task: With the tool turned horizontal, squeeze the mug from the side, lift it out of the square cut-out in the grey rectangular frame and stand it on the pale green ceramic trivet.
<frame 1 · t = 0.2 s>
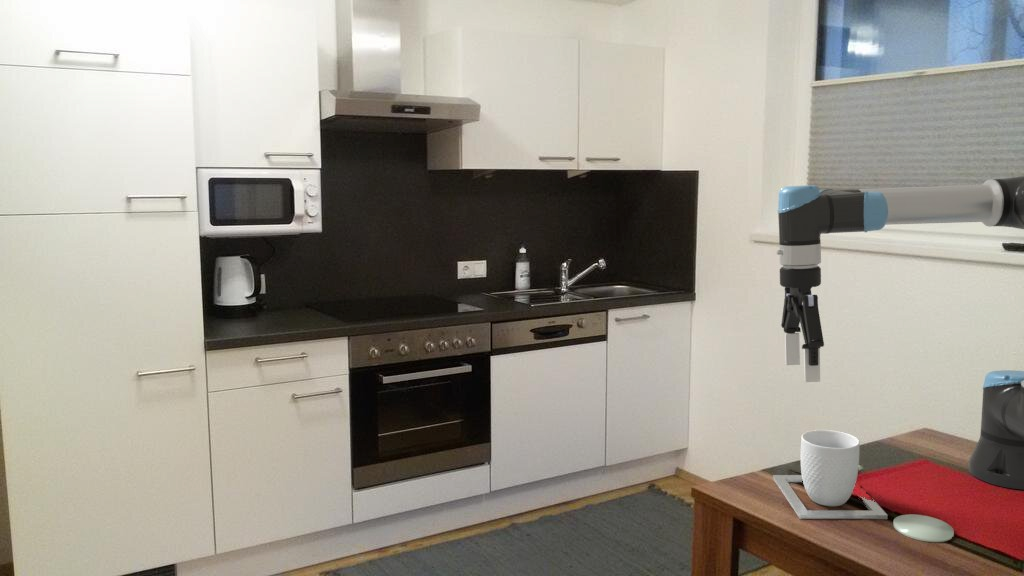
hand: (802, 372, 155), 27 cm above the table, tool pointing down, fingers open, 13 cm apart
mug: (826, 498, 161), resting in grey rectangular frame
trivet: (923, 529, 147), on the table
grey rectangular frame: (826, 497, 161), on the table
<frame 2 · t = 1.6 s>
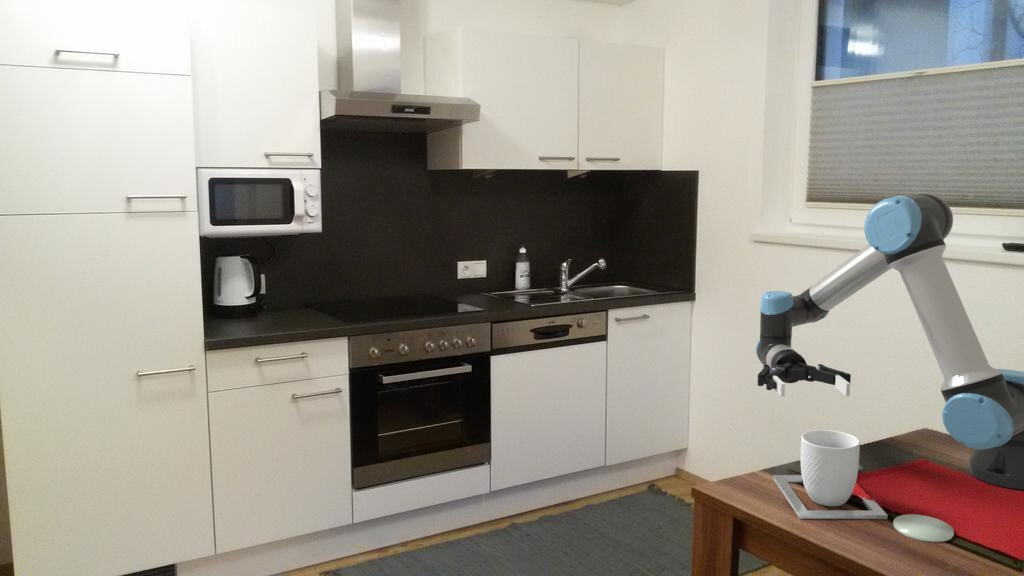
hand: (815, 390, 167), 20 cm above the table, tool horizontal, fingers open, 13 cm apart
nothing on the table moved.
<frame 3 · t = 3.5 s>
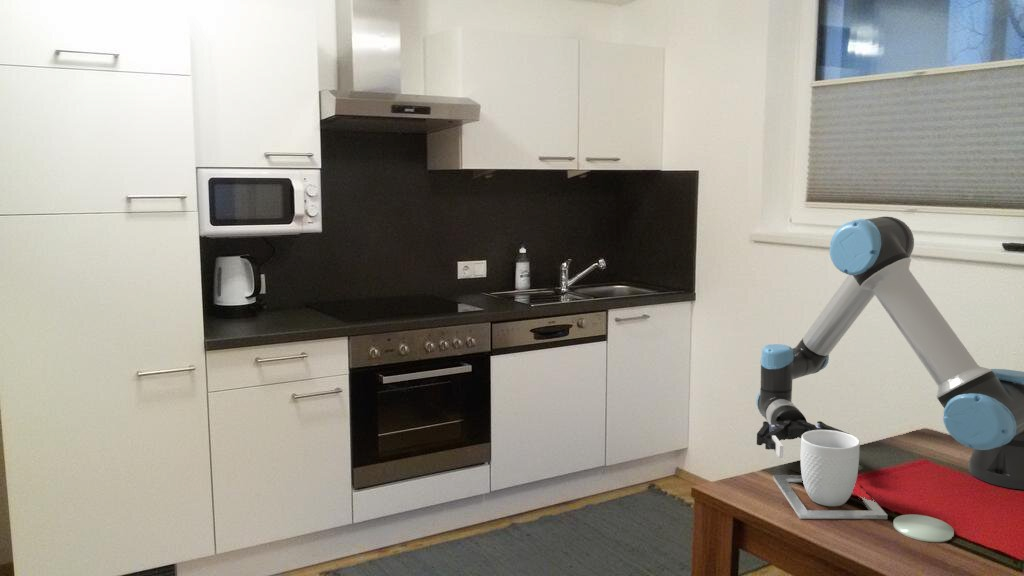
hand: (813, 452, 168), 7 cm above the table, tool horizontal, fingers open, 13 cm apart
nothing on the table moved.
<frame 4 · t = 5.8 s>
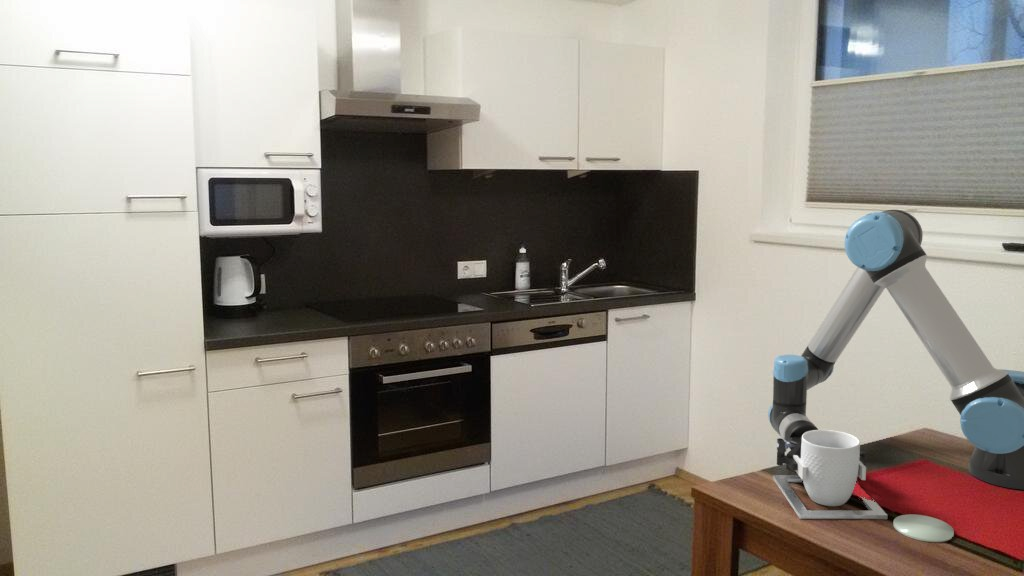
hand: (834, 473, 156), 7 cm above the table, tool horizontal, fingers closed on mug, 11 cm apart
mug: (826, 498, 161), resting in grey rectangular frame, touching gripper
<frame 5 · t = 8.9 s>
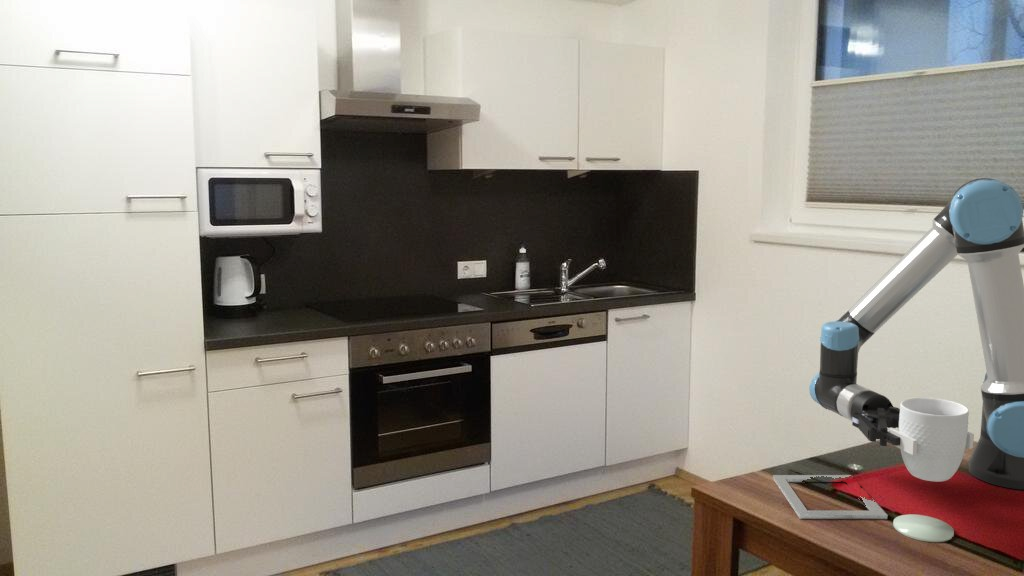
hand: (943, 444, 140), 18 cm above the table, tool horizontal, fingers closed on mug, 11 cm apart
mug: (926, 473, 145), point 11 cm above the table, touching gripper
when the fingers open (9 cm above the table, at t = 11.7 s): mug drops 1 cm, resting on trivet.
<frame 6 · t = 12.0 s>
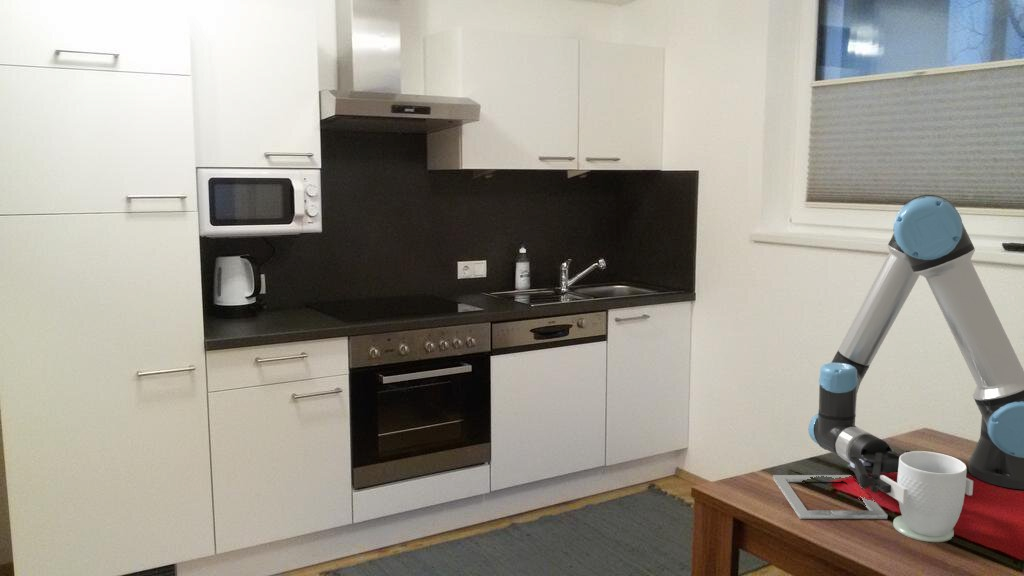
hand: (938, 492, 142), 9 cm above the table, tool horizontal, fingers open, 13 cm apart
mug: (924, 527, 147), resting on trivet
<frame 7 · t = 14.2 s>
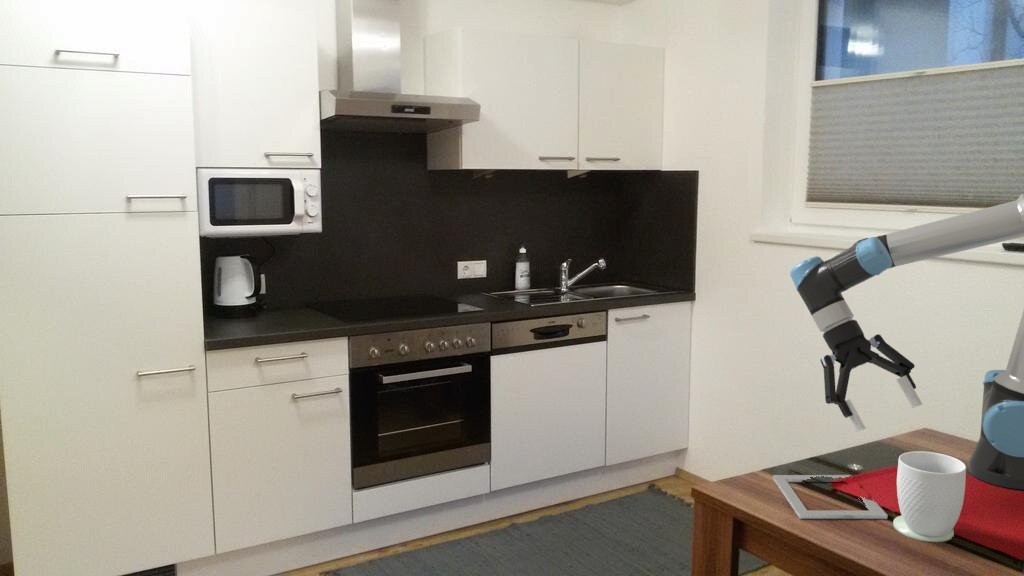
hand: (889, 418, 162), 16 cm above the table, tool tilted 35°, fingers open, 13 cm apart
nothing on the table moved.
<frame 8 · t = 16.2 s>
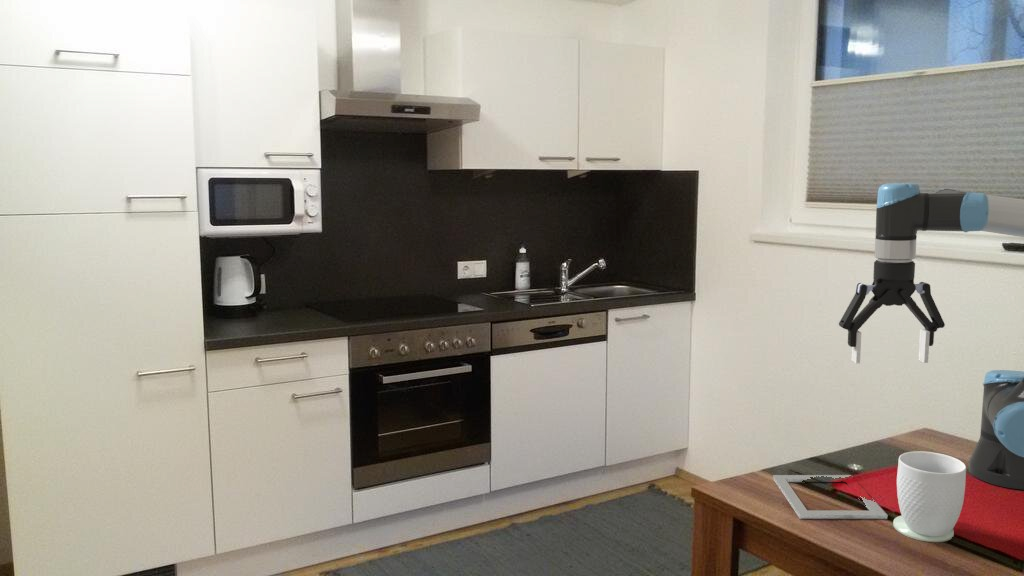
hand: (889, 361, 163), 27 cm above the table, tool pointing down, fingers open, 13 cm apart
nothing on the table moved.
at the end: mug 0.2 cm from the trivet (horizontally); mug tilted 0°; mug touching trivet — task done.
